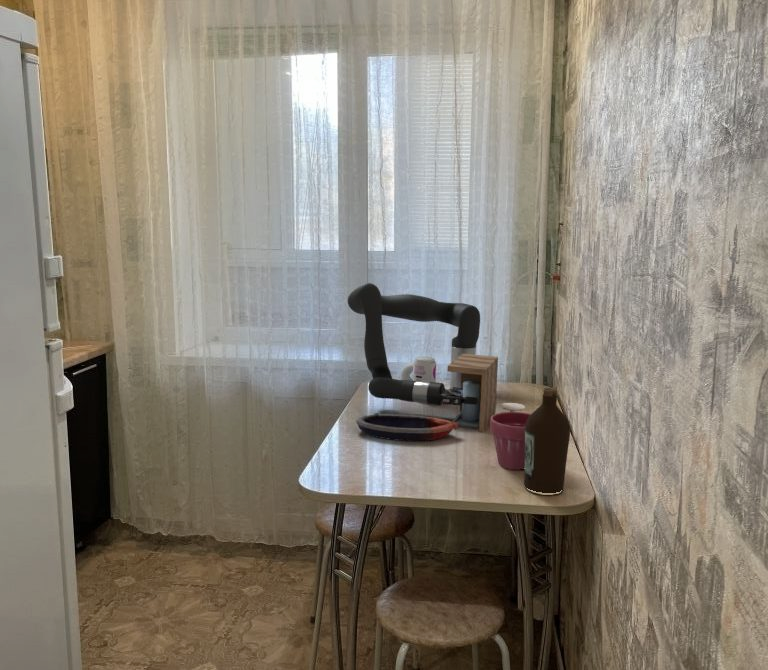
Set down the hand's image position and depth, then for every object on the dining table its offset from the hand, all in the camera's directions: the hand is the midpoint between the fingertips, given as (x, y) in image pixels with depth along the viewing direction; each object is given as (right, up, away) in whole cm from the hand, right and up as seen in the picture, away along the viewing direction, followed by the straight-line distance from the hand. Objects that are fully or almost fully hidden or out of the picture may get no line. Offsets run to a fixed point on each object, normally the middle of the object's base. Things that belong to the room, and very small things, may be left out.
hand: (479, 398), depth 220 cm
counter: (-2, -7, +3) cm, 8 cm away
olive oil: (+9, -17, -52) cm, 55 cm away
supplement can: (-16, -3, +28) cm, 32 cm away
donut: (-19, 0, +43) cm, 47 cm away
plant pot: (+5, -14, -36) cm, 39 cm away
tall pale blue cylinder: (-3, -7, +2) cm, 7 cm away
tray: (-3, -7, +2) cm, 8 cm away
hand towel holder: (+12, -9, +1) cm, 15 cm away
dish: (-24, -10, -13) cm, 29 cm away
